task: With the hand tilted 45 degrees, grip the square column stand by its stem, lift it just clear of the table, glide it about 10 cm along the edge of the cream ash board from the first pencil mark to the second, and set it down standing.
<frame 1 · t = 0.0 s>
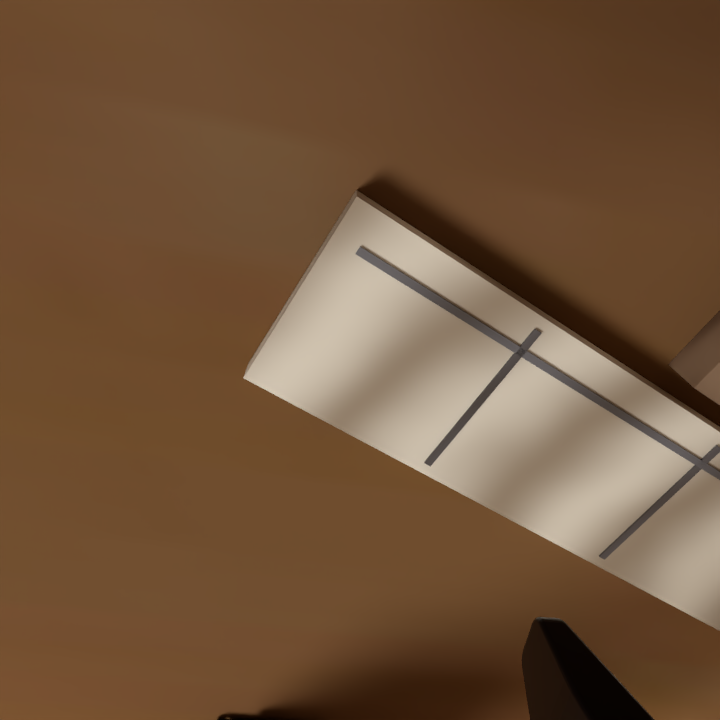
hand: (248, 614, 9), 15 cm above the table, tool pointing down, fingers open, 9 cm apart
ash board: (563, 438, 25), on the table
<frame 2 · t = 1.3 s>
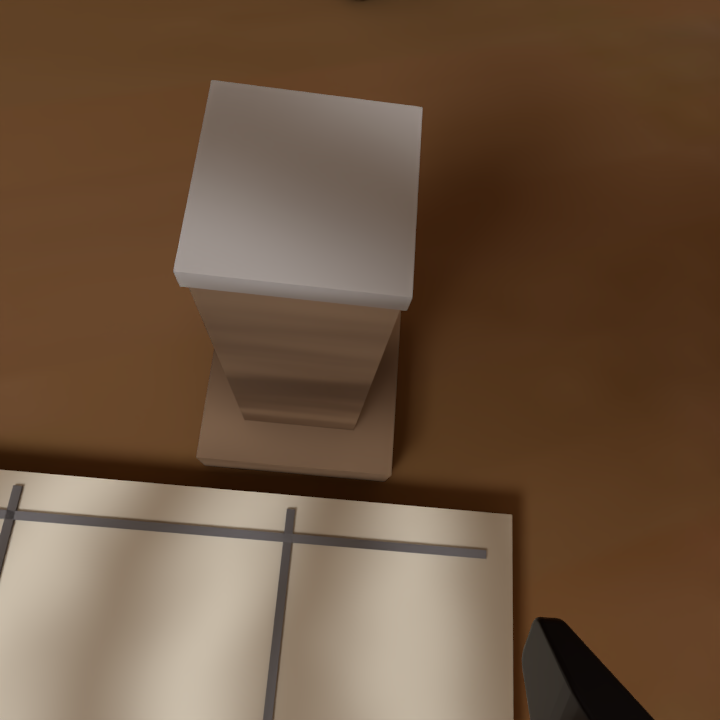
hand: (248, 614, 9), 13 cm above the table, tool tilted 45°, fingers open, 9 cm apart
ash board: (146, 600, 21), on the table
square column stand: (304, 387, 24), on the table
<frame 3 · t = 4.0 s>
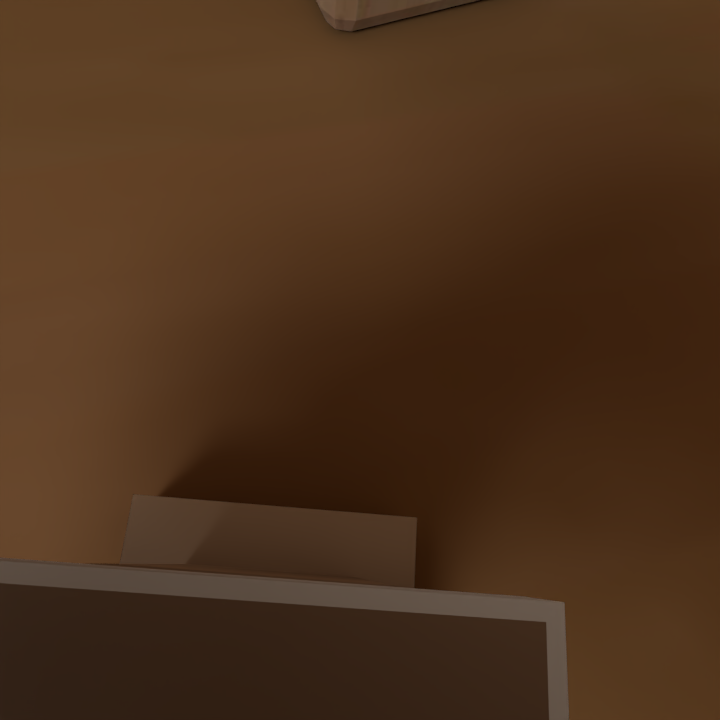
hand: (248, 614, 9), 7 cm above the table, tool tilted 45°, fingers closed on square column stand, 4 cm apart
square column stand: (264, 651, 15), on the table, touching gripper
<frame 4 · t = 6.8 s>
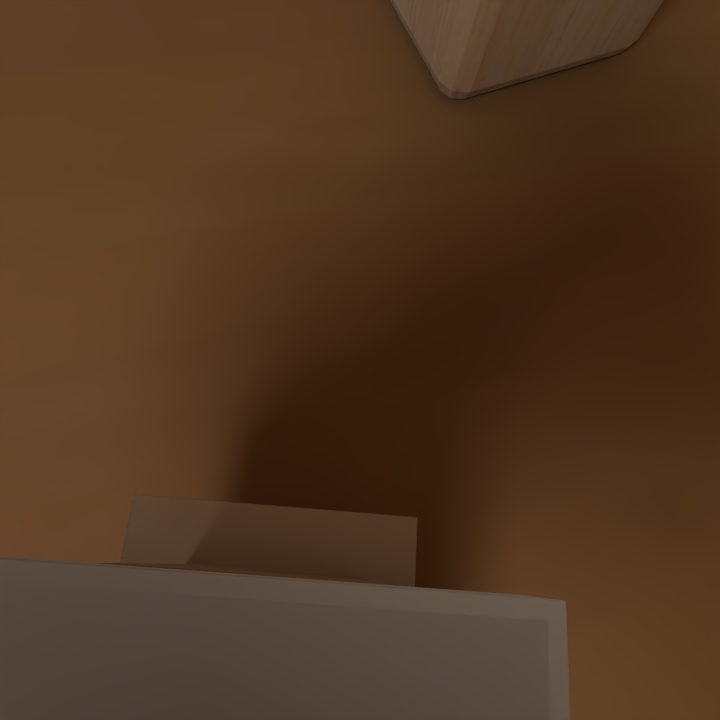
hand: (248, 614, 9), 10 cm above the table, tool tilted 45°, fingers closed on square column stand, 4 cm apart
wooden block: (491, 7, 28), on the table
square column stand: (264, 650, 15), point 3 cm above the table, touching gripper
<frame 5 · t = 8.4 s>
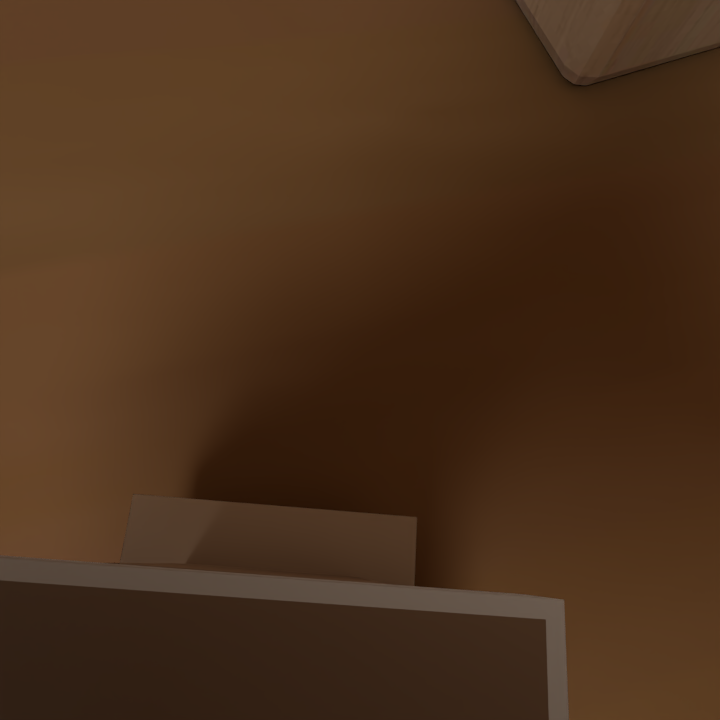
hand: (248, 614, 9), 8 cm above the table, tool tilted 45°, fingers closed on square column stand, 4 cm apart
square column stand: (264, 650, 15), point 1 cm above the table, touching gripper
when the fingers open (8 cm above the table, at t = 9.5 s): square column stand stays where it is, on the table.
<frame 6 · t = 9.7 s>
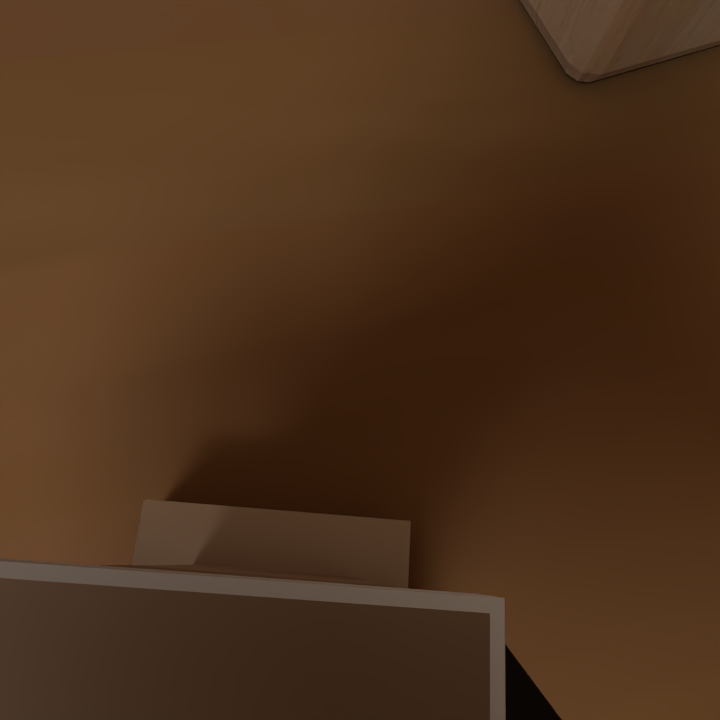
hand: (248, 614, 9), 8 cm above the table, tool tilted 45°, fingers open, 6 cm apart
square column stand: (267, 646, 16), on the table
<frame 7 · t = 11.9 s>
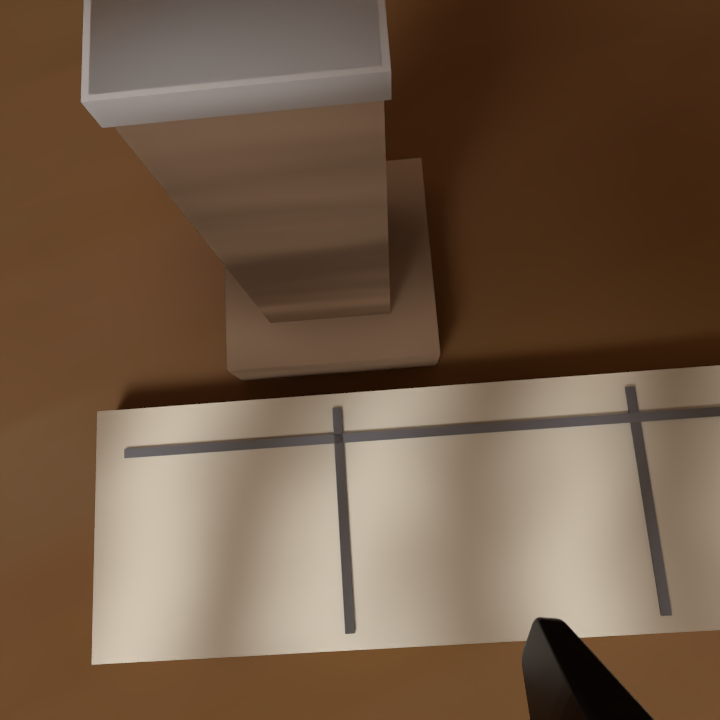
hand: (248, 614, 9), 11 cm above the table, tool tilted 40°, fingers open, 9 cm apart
ash board: (487, 505, 20), on the table
square column stand: (332, 280, 22), on the table
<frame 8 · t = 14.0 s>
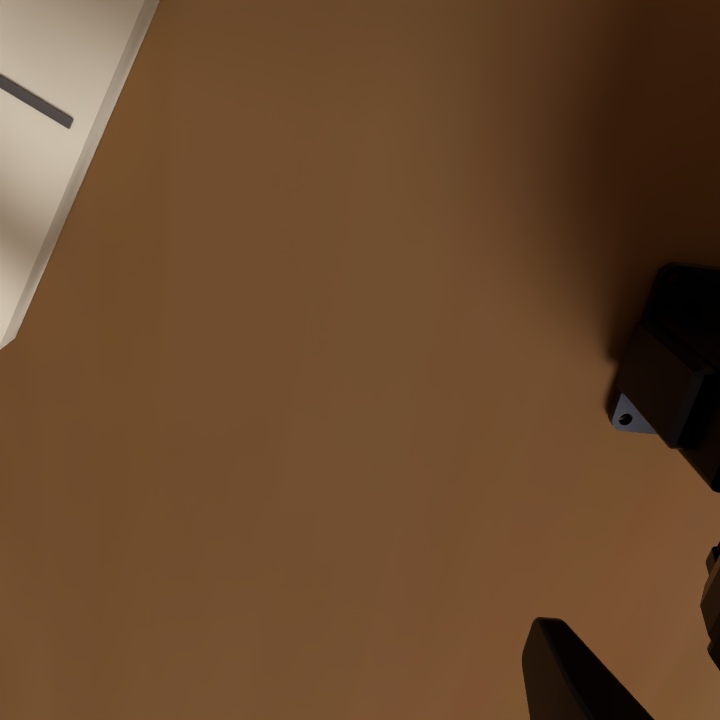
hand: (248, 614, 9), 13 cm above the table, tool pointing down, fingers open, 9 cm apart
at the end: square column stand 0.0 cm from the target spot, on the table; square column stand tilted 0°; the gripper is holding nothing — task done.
